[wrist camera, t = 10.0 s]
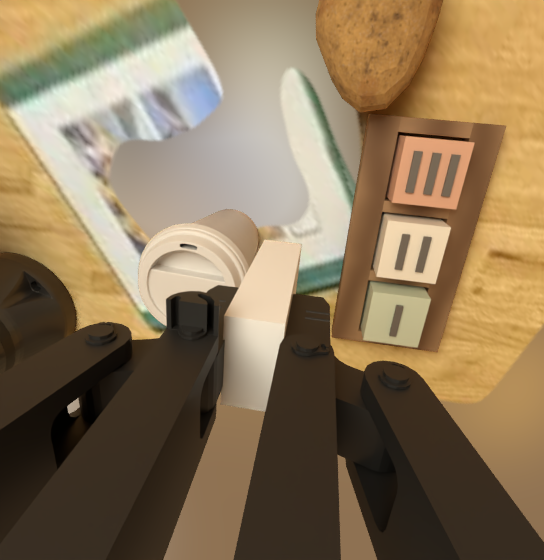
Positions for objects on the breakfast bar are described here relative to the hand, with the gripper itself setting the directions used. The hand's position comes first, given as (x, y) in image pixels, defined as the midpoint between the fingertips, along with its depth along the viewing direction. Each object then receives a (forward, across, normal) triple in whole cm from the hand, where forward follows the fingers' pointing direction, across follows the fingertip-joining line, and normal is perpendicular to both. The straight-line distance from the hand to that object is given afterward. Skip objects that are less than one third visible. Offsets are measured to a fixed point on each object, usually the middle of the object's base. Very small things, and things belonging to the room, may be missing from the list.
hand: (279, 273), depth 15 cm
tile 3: (+26, +11, +2) cm, 28 cm away
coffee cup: (+27, -8, -7) cm, 29 cm away
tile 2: (+26, +11, -5) cm, 29 cm away
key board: (+26, +11, -5) cm, 29 cm away
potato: (+27, +4, +14) cm, 30 cm away
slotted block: (+26, +11, -12) cm, 31 cm away
